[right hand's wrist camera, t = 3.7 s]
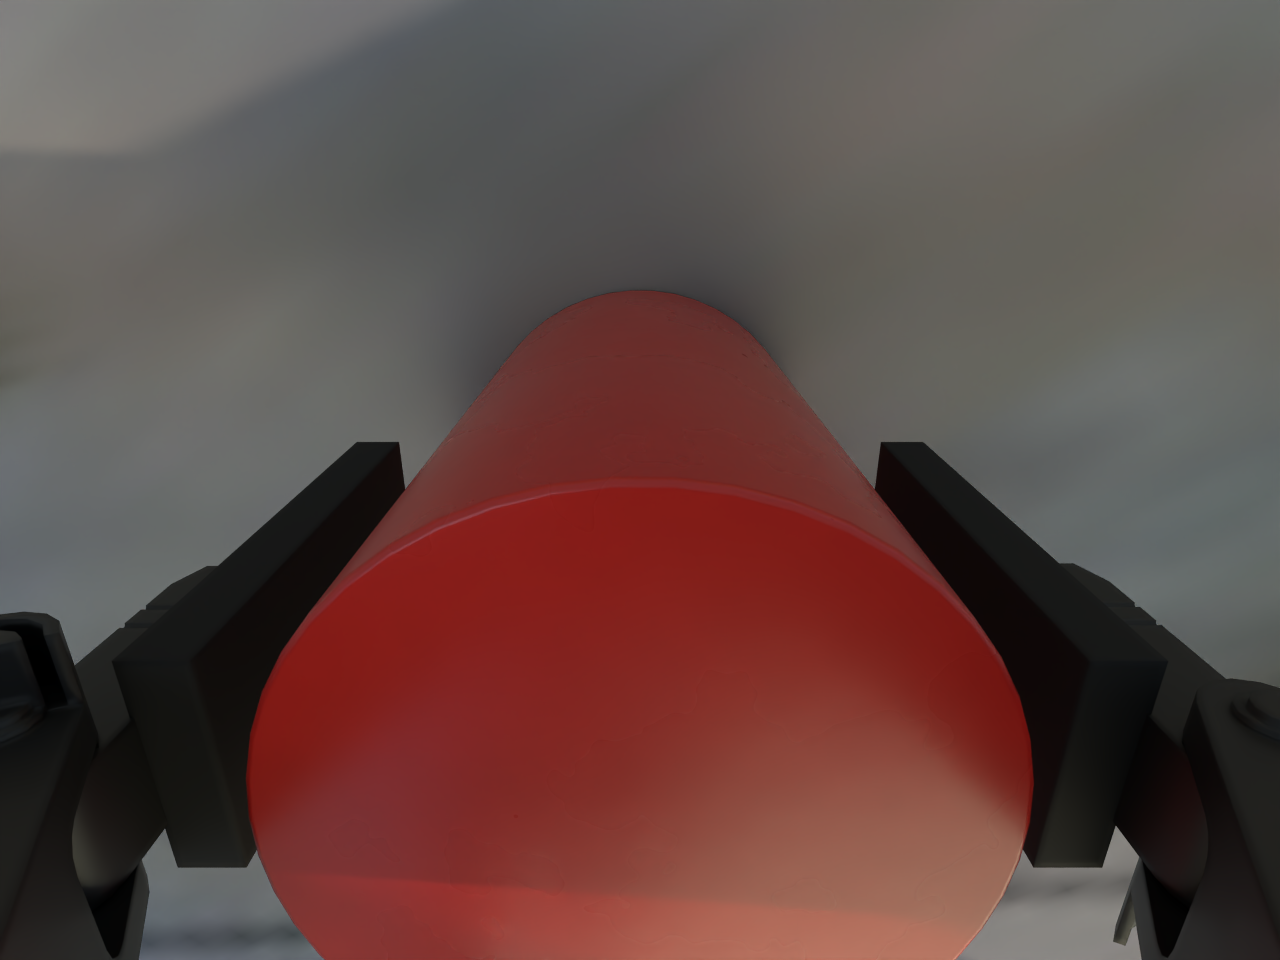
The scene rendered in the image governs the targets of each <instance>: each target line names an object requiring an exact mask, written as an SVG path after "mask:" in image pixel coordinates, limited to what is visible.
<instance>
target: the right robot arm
mask: <svg viewBox="0 0 1280 960" xmlns="http://www.w3.org/2000/svg"><path fill="white" fill-rule="evenodd" d="M404 491H405V485H404V478H403V470H402V462H401V454H400V447H399V442H356V443H355V444H354V445H353V446H352V447H351V448H350V449H349V450H348V451H346V452H345V453H344V454H343V455H342V456H341V457H340V458H339V459H337V460H336V461H335V462H334V463H333V464H332V465H331V466H330V467H328V468H327V469H326V470H325V471H324V472H323V473H322V474H321V475H320V476H318V477H317V478H316V479H315V480H314V481H313V482H312V483H311V484H309V485H308V486H307V487H306V488H305V489H304V490H303V491H302V492H300V493H299V494H298V495H297V496H296V497H295V498H294V499H293V500H291V501H290V502H289V503H288V504H287V505H286V506H285V507H284V508H283V509H281V510H280V511H279V512H278V513H277V514H276V515H275V516H274V517H272V518H271V519H270V520H269V521H268V522H267V523H266V524H265V525H263V526H262V527H261V528H260V529H259V530H258V531H257V532H256V533H254V534H253V535H252V536H251V537H250V538H249V539H248V540H247V541H246V542H244V543H243V544H242V545H241V546H240V547H239V548H238V549H237V550H235V551H234V552H233V553H232V554H231V555H230V556H229V557H228V558H226V559H225V560H224V561H223V562H222V563H221V564H220V565H219V566H206V567H204V568H202V569H201V570H199V571H197V572H195V573H193V574H191V575H189V576H187V577H185V578H183V579H181V580H179V581H177V582H175V583H173V584H171V585H170V586H169V587H167V588H166V589H165V590H164V591H163V592H162V593H160V594H159V595H158V596H157V597H156V598H154V599H153V600H152V601H151V602H150V603H148V604H147V605H146V610H140V611H139V612H138V613H137V614H135V615H134V616H133V617H132V618H131V619H129V620H128V621H127V622H126V623H125V627H124V628H119V629H118V630H116V631H115V632H114V633H113V634H112V635H110V636H109V637H108V638H107V639H106V640H105V641H103V642H102V643H101V644H100V645H99V646H97V647H96V648H95V649H94V650H93V651H91V652H90V653H89V654H88V655H87V656H86V657H84V658H83V659H82V660H81V661H80V662H78V663H77V664H76V665H75V666H74V663H73V660H72V657H71V654H70V651H69V648H68V645H67V642H66V640H65V637H64V634H63V631H62V628H61V625H60V622H59V621H58V620H57V619H55V618H53V617H52V616H50V615H48V614H45V613H33V612H18V613H9V614H0V960H139V954H140V947H141V941H142V935H143V929H144V922H145V916H146V910H147V904H148V897H149V885H148V878H147V874H146V871H145V868H144V865H143V862H142V858H143V857H144V856H145V854H146V853H147V852H148V850H149V849H150V848H151V846H152V845H153V844H154V842H155V841H156V840H157V838H158V837H159V836H160V834H161V833H162V831H163V830H164V829H166V832H167V835H168V838H169V841H170V845H171V848H172V851H173V854H174V857H175V860H176V863H177V866H178V867H247V866H248V864H249V862H250V860H251V859H252V857H253V855H254V854H255V852H256V850H257V848H256V844H255V840H254V836H253V832H252V828H251V824H250V820H249V812H248V799H247V786H246V772H247V761H248V751H249V741H250V732H251V729H252V725H253V721H254V718H255V714H256V711H257V707H258V704H259V700H260V697H261V693H262V691H263V688H264V686H265V684H266V682H267V680H268V678H269V676H270V674H271V672H272V670H273V668H274V666H275V664H276V661H277V659H278V657H279V655H280V653H281V651H282V650H283V648H284V647H285V646H286V644H287V643H288V641H289V640H290V639H291V637H292V636H293V634H294V633H295V632H296V630H297V629H298V627H299V626H300V625H301V623H302V622H303V620H304V619H305V617H306V616H307V615H308V613H309V612H310V611H311V609H312V608H313V607H314V606H315V604H316V603H317V602H318V600H319V599H320V598H321V597H322V595H323V594H324V593H325V592H326V590H327V589H328V588H329V586H330V585H331V584H332V583H333V581H334V580H335V579H336V578H337V576H338V575H339V574H340V572H341V571H342V570H343V569H344V567H345V566H346V565H347V563H348V562H349V561H350V560H351V558H352V557H353V556H354V555H355V553H356V552H357V551H358V549H359V548H360V547H361V546H362V544H363V543H364V542H365V540H366V539H367V538H368V537H369V535H370V534H371V533H372V532H373V530H374V529H375V528H376V526H377V525H378V524H379V523H380V521H381V520H382V519H383V517H384V516H385V515H386V514H387V512H388V511H389V510H390V509H391V507H392V506H393V505H394V503H395V502H396V501H397V500H398V498H399V497H400V496H401V494H402V493H403V492H404ZM875 491H876V492H877V493H878V495H879V496H880V497H881V498H882V500H883V501H884V502H885V504H886V505H887V506H888V507H889V509H890V510H891V511H892V512H893V514H894V515H895V516H896V518H897V519H898V520H899V521H900V523H901V524H902V525H903V527H904V528H905V529H906V530H907V532H908V533H909V534H910V535H911V537H912V538H913V539H914V541H915V542H916V543H917V544H918V546H919V547H920V548H921V550H922V551H923V552H924V553H925V555H926V556H927V557H928V558H929V560H930V561H931V562H932V564H933V565H934V566H935V567H936V569H937V570H938V571H939V572H940V574H941V575H942V576H943V578H944V579H945V580H946V581H947V583H948V584H949V585H950V587H951V588H952V589H953V590H954V592H955V593H956V594H957V595H958V597H959V598H960V599H961V601H962V602H963V603H964V604H965V606H966V607H967V608H968V610H969V611H970V612H971V613H972V615H973V616H974V617H975V619H976V620H977V622H978V623H979V624H980V626H981V627H982V629H983V630H984V632H985V633H986V635H987V636H988V638H989V639H990V641H991V642H992V644H993V645H994V646H995V648H996V649H997V651H998V652H999V654H1000V655H1001V657H1002V659H1003V661H1004V663H1005V666H1006V668H1007V670H1008V672H1009V674H1010V677H1011V679H1012V681H1013V683H1014V685H1015V688H1016V690H1017V692H1018V694H1019V696H1020V700H1021V704H1022V708H1023V711H1024V715H1025V719H1026V723H1027V727H1028V731H1029V735H1030V740H1031V752H1032V765H1033V778H1034V787H1033V797H1032V807H1031V817H1030V824H1029V828H1028V831H1027V835H1026V839H1025V842H1024V846H1023V850H1024V852H1025V854H1026V855H1027V857H1028V859H1029V860H1030V862H1031V864H1032V866H1033V867H1102V866H1103V863H1104V860H1105V857H1106V854H1107V851H1108V848H1109V844H1110V841H1111V838H1112V835H1113V832H1114V829H1115V826H1117V827H1118V829H1119V830H1120V831H1121V833H1122V834H1123V835H1124V837H1125V838H1126V839H1127V841H1128V842H1129V843H1130V845H1131V846H1132V847H1133V849H1134V850H1135V851H1136V853H1137V854H1138V855H1139V860H1138V862H1137V865H1136V868H1135V871H1134V874H1133V877H1132V880H1131V883H1130V886H1129V889H1128V891H1127V894H1126V897H1125V900H1124V903H1123V906H1122V909H1121V912H1120V915H1119V917H1118V920H1117V923H1116V928H1115V934H1114V940H1113V942H1116V943H1119V944H1122V945H1126V943H1127V940H1128V937H1129V934H1130V931H1131V929H1132V928H1133V927H1135V926H1137V933H1138V939H1139V945H1140V951H1141V957H1142V960H1280V688H1277V687H1274V686H1271V685H1267V684H1264V683H1261V682H1254V681H1246V680H1239V679H1225V678H1224V677H1223V676H1222V675H1221V674H1219V673H1218V672H1217V671H1216V670H1215V669H1213V668H1212V667H1211V666H1210V665H1209V664H1207V663H1206V662H1205V661H1204V660H1203V659H1201V658H1200V657H1199V656H1198V655H1197V654H1195V653H1194V652H1193V651H1192V650H1191V649H1189V648H1188V647H1187V646H1186V645H1185V644H1183V643H1182V642H1181V641H1180V640H1179V639H1177V638H1176V637H1175V636H1174V635H1173V634H1172V633H1170V632H1169V631H1168V630H1167V629H1166V628H1164V627H1163V626H1162V625H1156V620H1155V619H1154V618H1152V617H1151V616H1150V615H1149V614H1148V613H1146V612H1145V611H1144V610H1143V609H1142V608H1140V607H1135V603H1134V602H1133V601H1132V600H1131V599H1130V598H1128V597H1127V596H1126V595H1125V594H1124V593H1122V592H1121V591H1120V590H1119V589H1118V588H1116V587H1115V586H1114V585H1113V584H1112V583H1110V582H1109V581H1107V580H1105V579H1103V578H1101V577H1099V576H1097V575H1095V574H1093V573H1091V572H1089V571H1087V570H1085V569H1083V568H1081V567H1079V566H1077V565H1075V564H1059V563H1058V562H1057V561H1056V560H1055V559H1054V558H1052V557H1051V556H1050V555H1049V554H1048V553H1047V552H1046V551H1045V550H1043V549H1042V548H1041V547H1040V546H1039V545H1038V544H1037V543H1036V542H1034V541H1033V540H1032V539H1031V538H1030V537H1029V536H1028V535H1027V534H1025V533H1024V532H1023V531H1022V530H1021V529H1020V528H1019V527H1018V526H1017V525H1015V524H1014V523H1013V522H1012V521H1011V520H1010V519H1009V518H1008V517H1006V516H1005V515H1004V514H1003V513H1002V512H1001V511H1000V510H999V509H997V508H996V507H995V506H994V505H993V504H992V503H991V502H990V501H988V500H987V499H986V498H985V497H984V496H983V495H982V494H981V493H980V492H978V491H977V490H976V489H975V488H974V487H973V486H972V485H971V484H969V483H968V482H967V481H966V480H965V479H964V478H963V477H962V476H960V475H959V474H958V473H957V472H956V471H955V470H954V469H953V468H952V467H950V466H949V465H948V464H947V463H946V462H945V461H944V460H943V459H941V458H940V457H939V456H938V455H937V454H936V453H935V452H934V451H932V450H931V449H930V448H929V447H928V446H927V445H926V444H925V443H923V442H881V447H880V454H879V462H878V470H877V477H876V485H875Z"/></svg>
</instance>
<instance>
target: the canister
mask: <svg viewBox="0 0 1280 960" xmlns="http://www.w3.org/2000/svg"><path fill="white" fill-rule="evenodd" d="M246 786H247V799H248V812H249V820H250V824H251V828H252V832H253V836H254V840H255V844H256V848H257V852H258V855H259V858H260V860H261V862H262V865H263V867H264V869H265V872H266V874H267V876H268V879H269V881H270V883H271V886H272V888H273V890H274V892H275V894H276V895H277V897H278V899H279V900H280V902H281V904H282V905H283V907H284V908H285V910H286V912H287V913H288V915H289V916H290V918H291V920H292V921H293V923H294V924H295V926H296V927H297V928H298V929H299V931H300V932H301V933H302V934H303V935H304V937H305V938H306V939H307V940H308V941H309V943H310V944H311V945H312V946H313V947H314V949H315V950H316V951H317V952H318V953H319V955H320V956H321V957H322V958H324V959H325V960H955V959H957V957H958V956H959V955H960V954H961V953H962V952H963V950H964V949H965V948H966V947H967V946H968V945H969V943H970V942H971V941H972V940H973V939H974V938H975V936H976V935H977V934H978V933H979V932H980V931H981V929H982V928H983V927H984V925H985V924H986V922H987V920H988V919H989V917H990V916H991V914H992V913H993V911H994V910H995V908H996V906H997V905H998V903H999V902H1000V900H1001V899H1002V897H1003V896H1004V893H1005V891H1006V889H1007V887H1008V885H1009V882H1010V880H1011V878H1012V876H1013V874H1014V871H1015V869H1016V867H1017V865H1018V863H1019V860H1020V857H1021V853H1022V850H1023V846H1024V842H1025V839H1026V835H1027V831H1028V828H1029V824H1030V817H1031V807H1032V797H1033V787H1034V778H1033V765H1032V752H1031V740H1030V735H1029V731H1028V727H1027V723H1026V719H1025V715H1024V711H1023V708H1022V704H1021V700H1020V696H1019V694H1018V692H1017V690H1016V688H1015V685H1014V683H1013V681H1012V679H1011V677H1010V674H1009V672H1008V670H1007V668H1006V666H1005V663H1004V661H1003V659H1002V657H1001V655H1000V654H999V652H998V651H997V649H996V648H995V646H994V645H993V644H992V642H991V641H990V639H989V638H988V636H987V635H986V633H985V632H984V630H983V629H982V627H981V626H980V624H979V623H978V622H977V620H976V619H975V617H974V616H973V615H972V613H971V612H970V611H969V610H968V608H967V607H966V606H965V604H964V603H963V602H962V601H961V599H960V598H959V597H958V595H957V594H956V593H955V592H954V590H953V589H952V588H951V587H950V585H949V584H948V583H947V581H946V580H945V579H944V578H943V576H942V575H941V574H940V572H939V571H938V570H937V569H936V567H935V566H934V565H933V564H932V562H931V561H930V560H929V558H928V557H927V556H926V555H925V553H924V552H923V551H922V550H921V548H920V547H919V546H918V544H917V543H916V542H915V541H914V539H913V538H912V537H911V535H910V534H909V533H908V532H907V530H906V529H905V528H904V527H903V525H902V524H901V523H900V521H899V520H898V519H897V518H896V516H895V515H894V514H893V512H892V511H891V510H890V509H889V507H888V506H887V505H886V504H885V502H884V501H883V500H882V498H881V497H880V496H879V495H878V493H877V492H876V491H875V489H874V488H873V487H872V486H871V484H870V483H869V482H868V481H867V479H866V478H865V477H864V475H863V474H862V473H861V472H860V470H859V469H858V468H857V466H856V465H855V464H854V463H853V461H852V460H851V459H850V458H849V456H848V455H847V454H846V452H845V451H844V450H843V449H842V447H841V446H840V445H839V443H838V442H837V441H836V440H835V438H834V437H833V436H832V435H831V433H830V432H829V431H828V429H827V428H826V427H825V426H824V424H823V423H822V422H821V420H820V419H819V418H818V417H817V415H816V414H815V413H814V412H813V410H812V409H811V408H810V406H809V405H808V404H807V403H806V401H805V400H804V399H803V398H802V396H801V395H800V394H799V392H798V391H797V390H796V389H795V387H794V386H793V385H792V383H791V382H790V381H789V380H788V378H787V377H786V376H785V375H784V373H783V372H782V371H781V369H780V368H779V367H778V366H777V364H776V363H775V362H774V360H773V359H772V358H771V357H770V355H769V354H768V353H767V352H766V350H765V349H764V348H763V347H762V346H761V345H760V344H759V342H758V341H757V340H756V339H755V338H754V337H753V336H752V335H751V334H750V333H749V332H748V331H747V330H745V329H744V328H743V327H742V326H741V325H739V324H738V323H737V322H736V321H734V320H733V319H731V318H730V317H728V316H727V315H725V314H723V313H722V312H720V311H718V310H717V309H715V308H713V307H710V306H708V305H706V304H704V303H701V302H699V301H697V300H694V299H690V298H687V297H683V296H680V295H676V294H672V293H665V292H658V291H623V292H615V293H608V294H604V295H600V296H596V297H593V298H589V299H586V300H583V301H581V302H579V303H576V304H574V305H571V306H569V307H567V308H565V309H563V310H562V311H560V312H558V313H557V314H555V315H553V316H551V317H550V318H548V319H547V320H546V321H544V322H543V323H542V324H541V325H539V326H538V327H537V328H536V329H534V330H533V331H532V332H531V333H530V334H529V335H528V336H527V337H526V338H525V339H524V340H523V341H522V342H521V343H520V344H519V345H518V346H517V348H516V349H515V350H514V351H513V353H512V354H511V355H510V356H509V358H508V359H507V360H506V362H505V363H504V364H503V365H502V367H501V368H500V369H499V371H498V372H497V373H496V374H495V376H494V377H493V378H492V379H491V381H490V382H489V383H488V385H487V386H486V387H485V388H484V390H483V391H482V392H481V394H480V395H479V396H478V397H477V399H476V400H475V401H474V402H473V404H472V405H471V406H470V408H469V409H468V410H467V411H466V413H465V414H464V415H463V417H462V418H461V419H460V420H459V422H458V423H457V424H456V425H455V427H454V428H453V429H452V431H451V432H450V433H449V434H448V436H447V437H446V438H445V440H444V441H443V442H442V443H441V445H440V446H439V447H438V448H437V450H436V451H435V452H434V454H433V455H432V456H431V457H430V459H429V460H428V461H427V463H426V464H425V465H424V466H423V468H422V469H421V470H420V471H419V473H418V474H417V475H416V477H415V478H414V479H413V480H412V482H411V483H410V484H409V486H408V487H407V488H406V489H405V491H404V492H403V493H402V494H401V496H400V497H399V498H398V500H397V501H396V502H395V503H394V505H393V506H392V507H391V509H390V510H389V511H388V512H387V514H386V515H385V516H384V517H383V519H382V520H381V521H380V523H379V524H378V525H377V526H376V528H375V529H374V530H373V532H372V533H371V534H370V535H369V537H368V538H367V539H366V540H365V542H364V543H363V544H362V546H361V547H360V548H359V549H358V551H357V552H356V553H355V555H354V556H353V557H352V558H351V560H350V561H349V562H348V563H347V565H346V566H345V567H344V569H343V570H342V571H341V572H340V574H339V575H338V576H337V578H336V579H335V580H334V581H333V583H332V584H331V585H330V586H329V588H328V589H327V590H326V592H325V593H324V594H323V595H322V597H321V598H320V599H319V600H318V602H317V603H316V604H315V606H314V607H313V608H312V609H311V611H310V612H309V613H308V615H307V616H306V617H305V619H304V620H303V622H302V623H301V625H300V626H299V627H298V629H297V630H296V632H295V633H294V634H293V636H292V637H291V639H290V640H289V641H288V643H287V644H286V646H285V647H284V648H283V650H282V651H281V653H280V655H279V657H278V659H277V661H276V664H275V666H274V668H273V670H272V672H271V674H270V676H269V678H268V680H267V682H266V684H265V686H264V688H263V691H262V693H261V697H260V700H259V704H258V707H257V711H256V714H255V718H254V721H253V725H252V729H251V732H250V741H249V751H248V761H247V772H246Z"/></svg>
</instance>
